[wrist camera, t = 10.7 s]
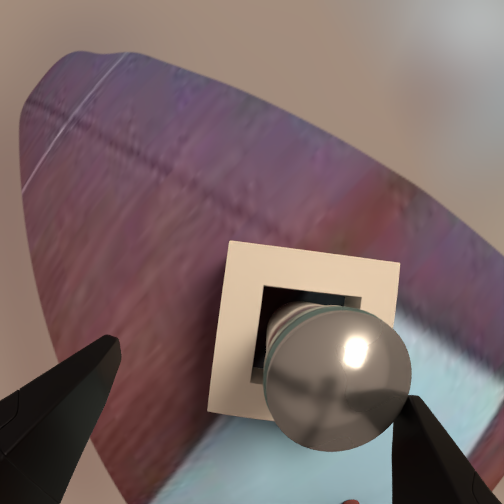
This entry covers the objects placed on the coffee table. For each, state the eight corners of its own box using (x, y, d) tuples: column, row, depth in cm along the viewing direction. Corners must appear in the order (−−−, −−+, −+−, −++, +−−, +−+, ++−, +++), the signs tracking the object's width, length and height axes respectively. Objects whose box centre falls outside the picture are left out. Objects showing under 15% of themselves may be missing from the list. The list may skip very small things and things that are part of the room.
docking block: (356, 405, 21) (373, 426, 17) (216, 391, 21) (207, 411, 17) (378, 268, 22) (400, 263, 18) (236, 249, 22) (229, 240, 18)
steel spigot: (311, 377, 21) (362, 471, 8) (252, 346, 21) (233, 417, 9) (344, 318, 21) (438, 347, 8) (285, 287, 22) (313, 279, 9)
